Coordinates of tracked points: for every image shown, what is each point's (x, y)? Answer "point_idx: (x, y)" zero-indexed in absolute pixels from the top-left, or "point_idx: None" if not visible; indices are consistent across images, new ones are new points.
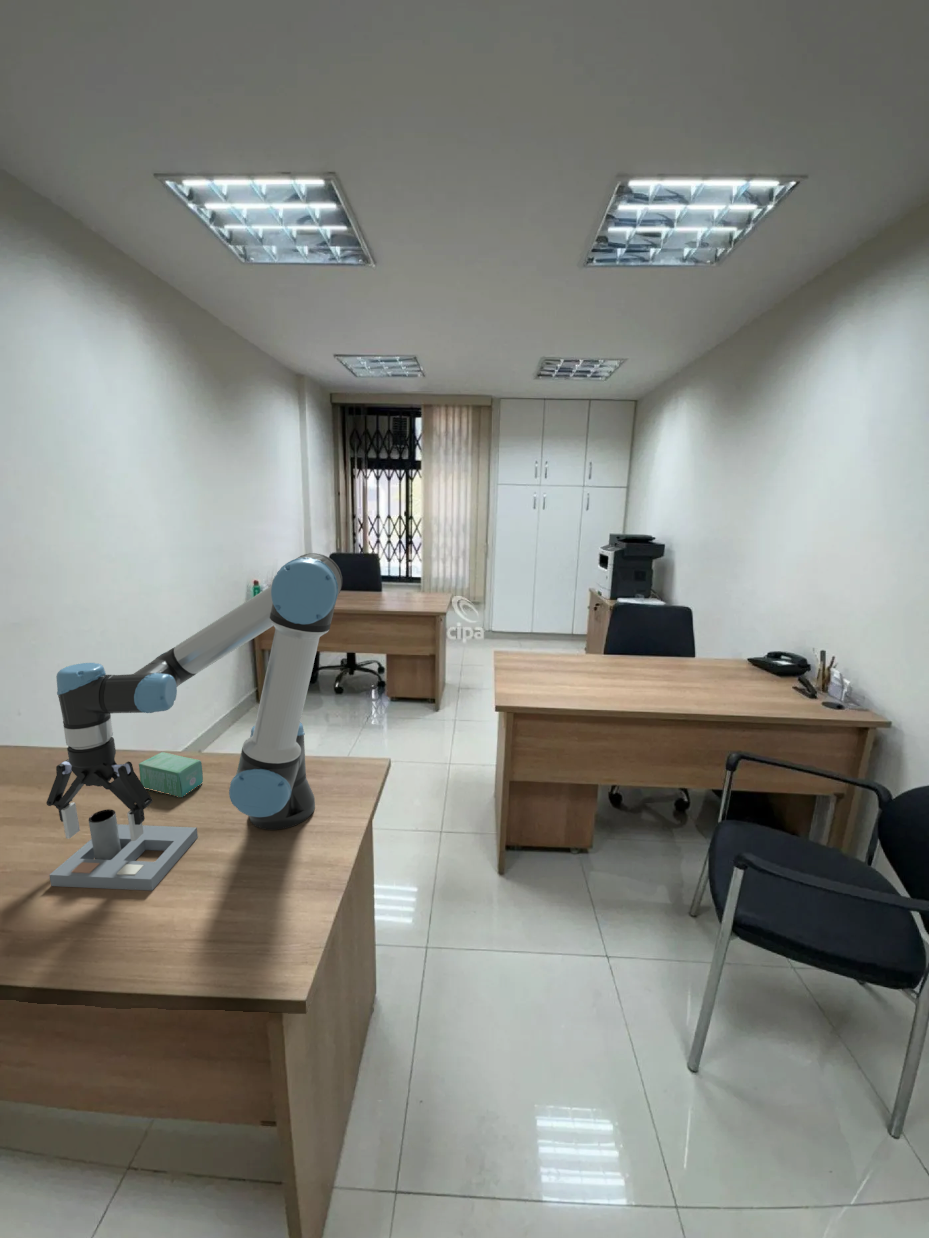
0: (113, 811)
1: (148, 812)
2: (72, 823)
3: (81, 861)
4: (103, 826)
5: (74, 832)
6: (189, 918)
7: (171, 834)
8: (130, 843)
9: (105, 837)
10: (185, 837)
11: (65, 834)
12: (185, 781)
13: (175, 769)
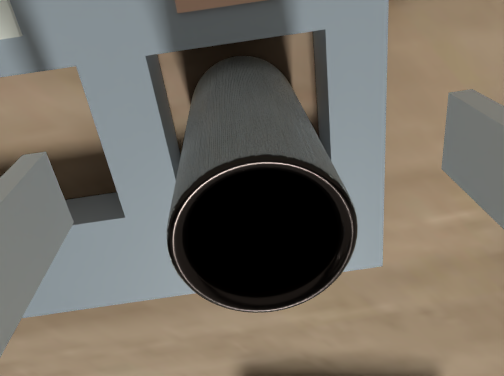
0: (222, 299)
1: (315, 351)
2: (488, 162)
3: (297, 10)
4: (191, 163)
5: (451, 136)
6: None
7: None
8: (166, 182)
9: (195, 127)
10: None
11: (487, 97)
12: None
13: None
